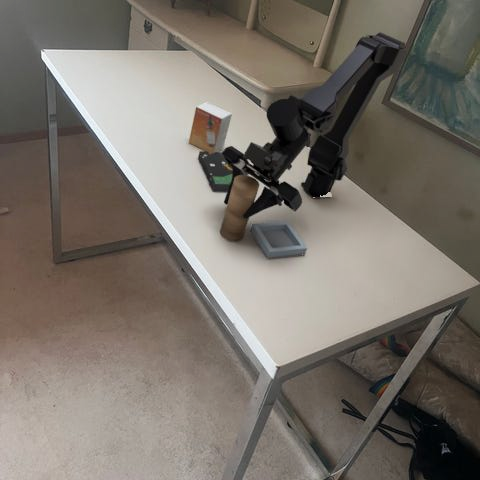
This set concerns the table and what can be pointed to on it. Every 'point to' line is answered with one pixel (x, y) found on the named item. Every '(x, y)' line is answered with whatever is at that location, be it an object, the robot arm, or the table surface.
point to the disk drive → (216, 170)
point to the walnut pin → (238, 207)
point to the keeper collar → (277, 239)
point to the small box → (209, 127)
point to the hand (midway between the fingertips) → (234, 210)
